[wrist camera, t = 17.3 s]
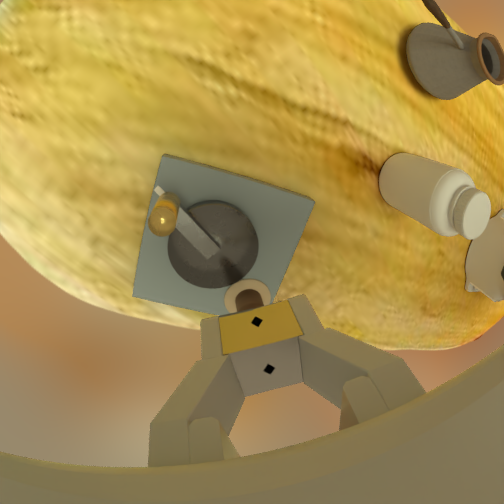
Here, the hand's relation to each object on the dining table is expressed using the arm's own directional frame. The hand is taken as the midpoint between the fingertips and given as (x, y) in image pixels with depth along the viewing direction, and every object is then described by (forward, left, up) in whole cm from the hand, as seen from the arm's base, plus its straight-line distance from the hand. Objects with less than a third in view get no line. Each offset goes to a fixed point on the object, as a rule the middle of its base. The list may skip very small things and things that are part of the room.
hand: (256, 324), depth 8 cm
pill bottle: (-24, -7, -27) cm, 37 cm away
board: (-3, +9, -27) cm, 29 cm away
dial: (-1, +7, -25) cm, 26 cm away
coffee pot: (-17, -25, -27) cm, 41 cm away
